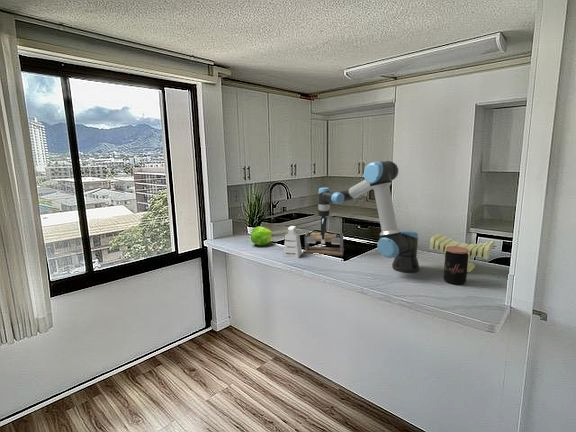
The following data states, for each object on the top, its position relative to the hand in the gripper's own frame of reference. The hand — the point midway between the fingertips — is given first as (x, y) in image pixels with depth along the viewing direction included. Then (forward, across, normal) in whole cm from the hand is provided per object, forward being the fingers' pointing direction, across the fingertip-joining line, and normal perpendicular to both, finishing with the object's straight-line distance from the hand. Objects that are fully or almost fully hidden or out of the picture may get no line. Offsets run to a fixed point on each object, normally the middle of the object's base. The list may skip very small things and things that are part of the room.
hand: (323, 242), depth 227 cm
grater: (+7, -12, +20) cm, 24 cm away
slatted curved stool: (+6, -18, -83) cm, 86 cm away
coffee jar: (+6, -41, -75) cm, 86 cm away
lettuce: (+7, +10, +49) cm, 50 cm away
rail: (-1, 0, 0) cm, 1 cm away
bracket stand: (+7, 0, 0) cm, 7 cm away
